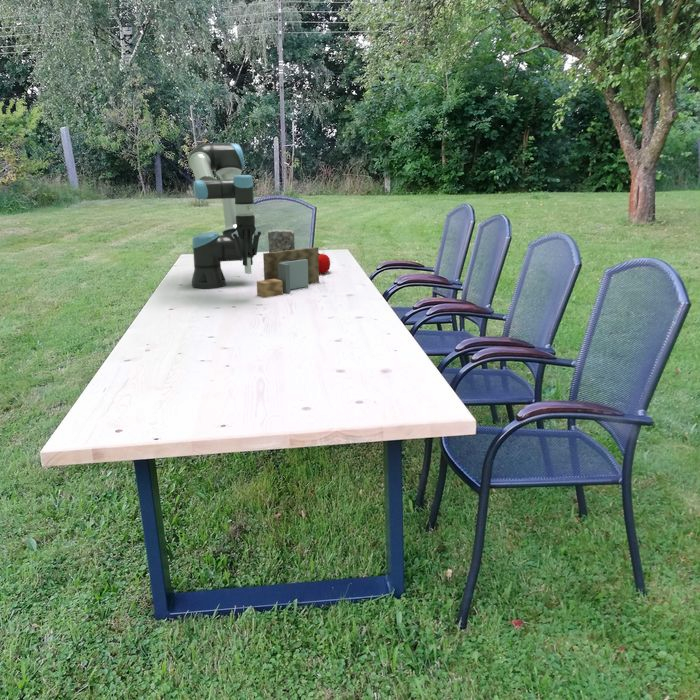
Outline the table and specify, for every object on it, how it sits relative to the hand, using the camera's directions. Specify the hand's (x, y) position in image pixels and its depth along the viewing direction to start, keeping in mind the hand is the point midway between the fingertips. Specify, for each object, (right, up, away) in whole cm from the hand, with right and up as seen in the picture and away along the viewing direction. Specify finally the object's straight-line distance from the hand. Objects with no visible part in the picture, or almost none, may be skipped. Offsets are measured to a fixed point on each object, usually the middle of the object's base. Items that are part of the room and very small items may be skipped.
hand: (248, 273), depth 259 cm
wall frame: (+17, -2, +27) cm, 32 cm away
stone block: (+7, +10, +66) cm, 67 cm away
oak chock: (+8, -8, +9) cm, 15 cm away
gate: (+18, -5, +18) cm, 26 cm away
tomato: (+26, +7, +55) cm, 62 cm away
